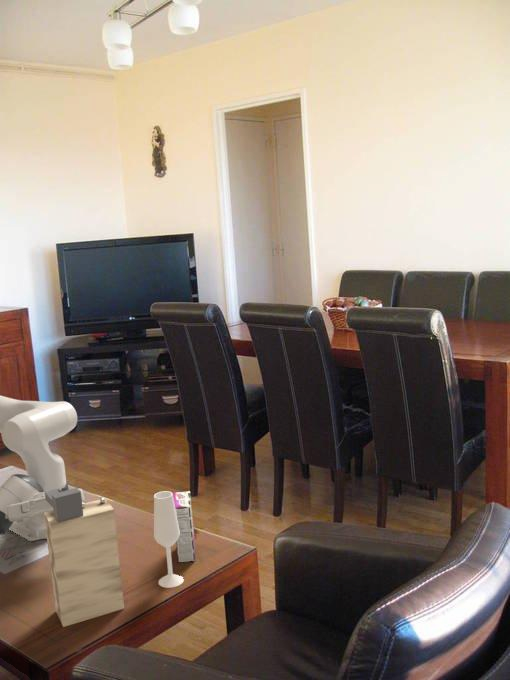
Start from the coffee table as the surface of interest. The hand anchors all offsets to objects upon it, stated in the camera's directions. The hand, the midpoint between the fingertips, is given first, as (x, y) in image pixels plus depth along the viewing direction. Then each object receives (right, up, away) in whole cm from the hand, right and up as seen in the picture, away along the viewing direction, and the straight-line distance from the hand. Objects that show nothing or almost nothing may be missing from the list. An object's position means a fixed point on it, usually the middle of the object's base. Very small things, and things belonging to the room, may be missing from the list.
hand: (48, 499), depth 194 cm
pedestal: (+13, -25, -11) cm, 30 cm away
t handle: (+7, +1, -14) cm, 15 cm away
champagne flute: (+32, -22, 0) cm, 39 cm away
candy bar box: (+35, -19, +15) cm, 42 cm away
